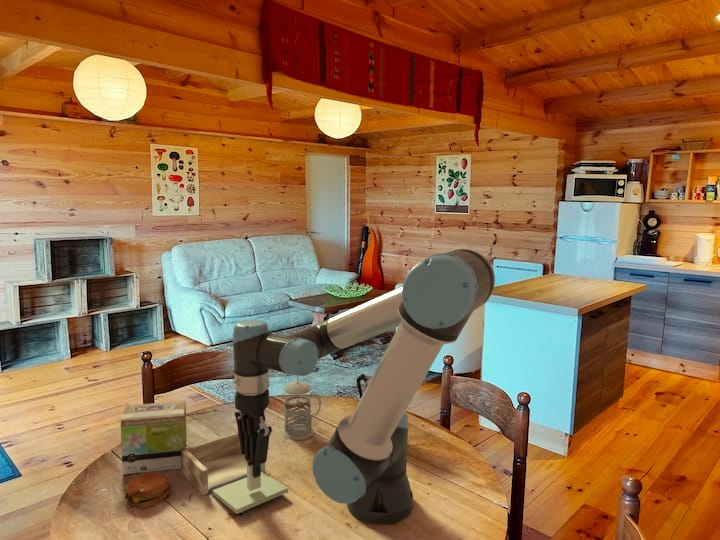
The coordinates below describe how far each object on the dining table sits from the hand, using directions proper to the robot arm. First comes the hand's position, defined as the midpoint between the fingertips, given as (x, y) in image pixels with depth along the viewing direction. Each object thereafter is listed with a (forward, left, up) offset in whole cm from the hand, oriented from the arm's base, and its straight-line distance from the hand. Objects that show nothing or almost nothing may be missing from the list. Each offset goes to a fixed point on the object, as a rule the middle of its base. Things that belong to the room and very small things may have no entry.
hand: (254, 487), depth 118 cm
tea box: (+31, +12, -3) cm, 33 cm away
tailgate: (+2, 0, -2) cm, 3 cm away
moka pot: (+5, -42, -3) cm, 43 cm away
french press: (+22, -27, -3) cm, 35 cm away
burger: (+16, +18, -3) cm, 25 cm away
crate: (+16, 0, -3) cm, 16 cm away
